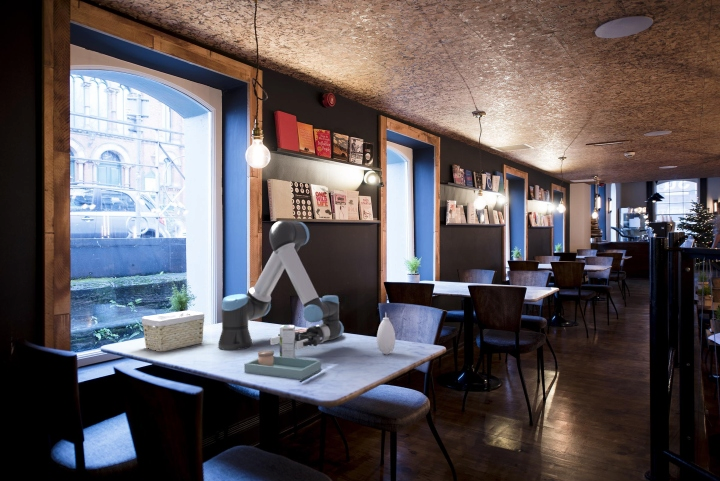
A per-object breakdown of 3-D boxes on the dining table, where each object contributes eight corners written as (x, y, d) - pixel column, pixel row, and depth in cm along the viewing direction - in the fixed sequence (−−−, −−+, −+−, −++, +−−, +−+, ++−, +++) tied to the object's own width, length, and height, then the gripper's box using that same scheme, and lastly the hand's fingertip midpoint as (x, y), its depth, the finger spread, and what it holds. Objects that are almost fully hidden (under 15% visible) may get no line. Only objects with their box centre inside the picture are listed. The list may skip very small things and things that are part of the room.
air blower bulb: (375, 352, 204) (374, 310, 204) (392, 351, 205) (391, 309, 205) (379, 356, 196) (379, 313, 196) (397, 355, 198) (397, 312, 198)
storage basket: (158, 353, 206) (157, 319, 206) (140, 348, 217) (140, 316, 217) (206, 343, 225) (206, 312, 225) (188, 339, 235) (187, 309, 235)
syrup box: (280, 360, 192) (280, 324, 192) (295, 360, 192) (295, 324, 192) (279, 364, 186) (279, 327, 186) (294, 363, 186) (294, 327, 186)
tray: (244, 374, 172) (244, 363, 172) (267, 365, 185) (266, 355, 185) (301, 382, 162) (301, 370, 162) (320, 371, 175) (320, 360, 175)
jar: (254, 369, 175) (254, 353, 175) (264, 365, 180) (264, 350, 180) (268, 371, 173) (267, 354, 173) (277, 367, 178) (276, 351, 178)
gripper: (340, 346, 198) (308, 357, 180) (295, 339, 211) (261, 349, 194) (340, 328, 198) (307, 337, 180) (295, 322, 211) (261, 330, 194)
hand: (283, 343), depth 187 cm, fingers open, 13 cm apart
